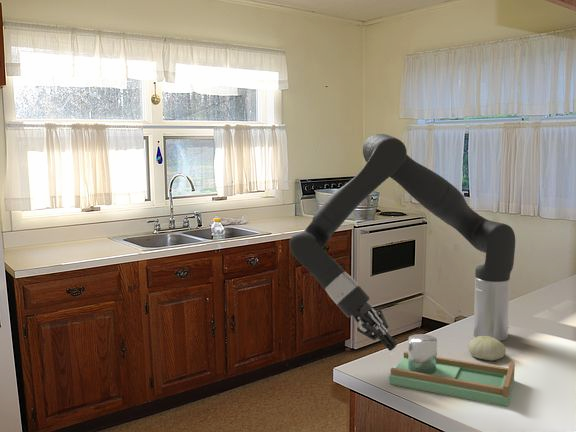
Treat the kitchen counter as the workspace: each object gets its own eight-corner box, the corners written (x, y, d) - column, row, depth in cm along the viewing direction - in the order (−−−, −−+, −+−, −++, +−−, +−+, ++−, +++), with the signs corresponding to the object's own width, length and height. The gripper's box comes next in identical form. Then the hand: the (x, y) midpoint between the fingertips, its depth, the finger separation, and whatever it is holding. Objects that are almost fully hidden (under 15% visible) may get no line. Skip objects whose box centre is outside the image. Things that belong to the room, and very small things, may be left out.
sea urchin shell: (495, 340, 150) (504, 327, 144) (503, 368, 145) (513, 356, 139) (462, 341, 150) (470, 328, 143) (468, 369, 145) (477, 357, 139)
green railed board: (405, 361, 142) (405, 345, 141) (514, 380, 130) (514, 362, 129) (389, 383, 129) (389, 365, 129) (507, 406, 117) (508, 387, 117)
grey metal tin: (412, 361, 137) (412, 332, 136) (439, 366, 134) (439, 336, 133) (405, 371, 131) (405, 341, 130) (432, 376, 128) (433, 345, 127)
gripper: (347, 291, 132) (396, 348, 128) (365, 278, 143) (411, 330, 139) (327, 310, 135) (374, 366, 131) (346, 296, 146) (391, 347, 142)
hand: (393, 347), depth 135 cm, fingers closed
